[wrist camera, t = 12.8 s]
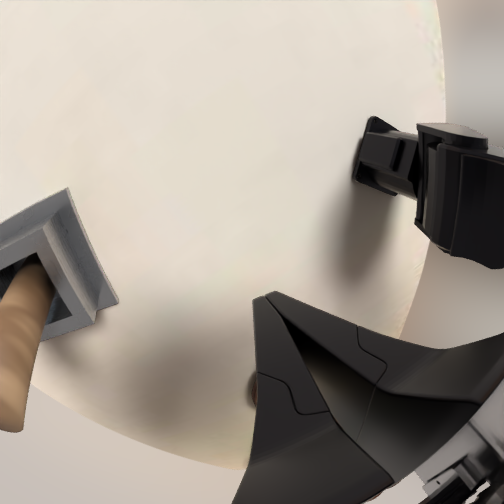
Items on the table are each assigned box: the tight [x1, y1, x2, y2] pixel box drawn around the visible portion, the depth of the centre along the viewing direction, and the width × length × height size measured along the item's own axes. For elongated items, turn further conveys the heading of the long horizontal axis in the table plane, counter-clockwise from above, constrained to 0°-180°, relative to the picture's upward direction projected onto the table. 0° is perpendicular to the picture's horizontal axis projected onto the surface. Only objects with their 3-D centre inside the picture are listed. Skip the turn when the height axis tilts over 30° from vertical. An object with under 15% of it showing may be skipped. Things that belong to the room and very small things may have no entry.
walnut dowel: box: [0, 252, 57, 433], centre depth 12 cm, size 4×4×13 cm
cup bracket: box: [0, 187, 118, 342], centre depth 16 cm, size 10×10×4 cm
